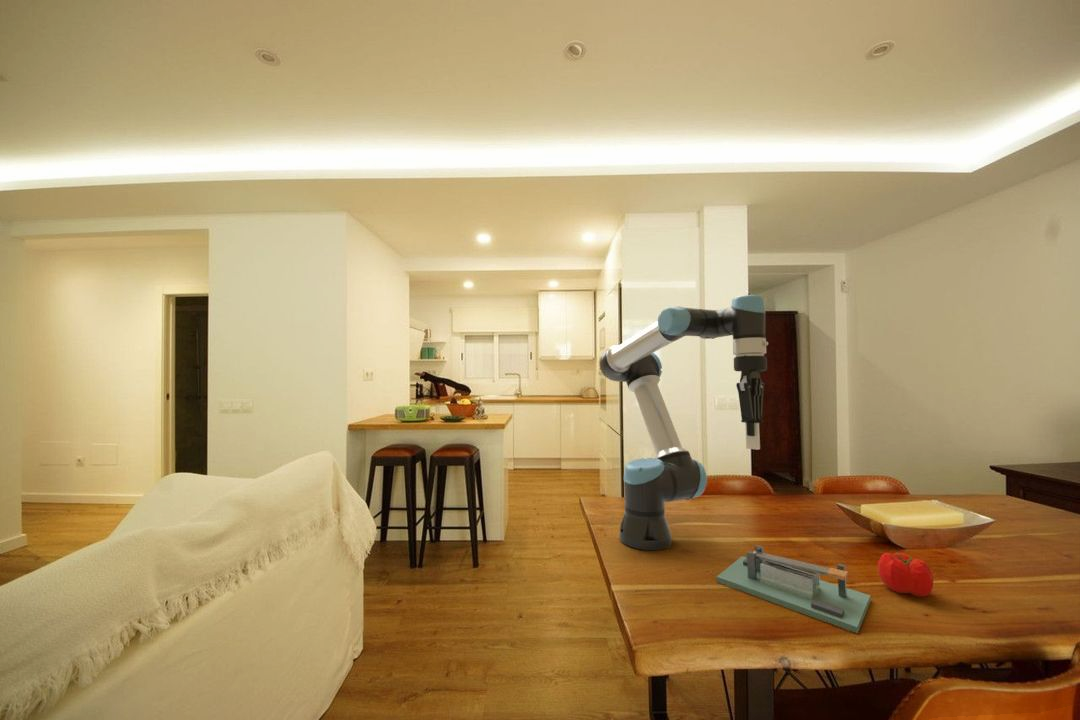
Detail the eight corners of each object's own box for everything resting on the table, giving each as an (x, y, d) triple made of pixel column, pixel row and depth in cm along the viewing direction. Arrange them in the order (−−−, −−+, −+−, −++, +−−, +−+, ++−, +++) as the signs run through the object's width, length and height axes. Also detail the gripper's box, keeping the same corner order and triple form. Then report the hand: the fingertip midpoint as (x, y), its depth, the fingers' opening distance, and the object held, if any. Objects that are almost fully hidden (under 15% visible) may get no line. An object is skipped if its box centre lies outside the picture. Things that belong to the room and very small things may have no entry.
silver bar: (747, 578, 91) (746, 550, 91) (758, 567, 96) (757, 541, 96) (839, 609, 78) (838, 577, 78) (846, 595, 83) (845, 565, 83)
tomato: (869, 581, 92) (868, 548, 92) (908, 581, 91) (906, 549, 92) (905, 603, 82) (903, 567, 83) (948, 604, 82) (946, 567, 82)
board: (716, 581, 91) (716, 573, 91) (742, 560, 102) (742, 552, 102) (857, 633, 72) (857, 622, 72) (870, 601, 83) (870, 591, 83)
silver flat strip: (750, 558, 92) (749, 552, 92) (755, 554, 94) (754, 548, 94) (845, 582, 79) (844, 575, 79) (848, 577, 81) (847, 570, 81)
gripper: (756, 353, 92) (760, 453, 90) (774, 356, 101) (778, 447, 99) (724, 355, 97) (727, 449, 96) (743, 357, 106) (746, 444, 105)
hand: (753, 448), depth 98 cm, fingers closed
